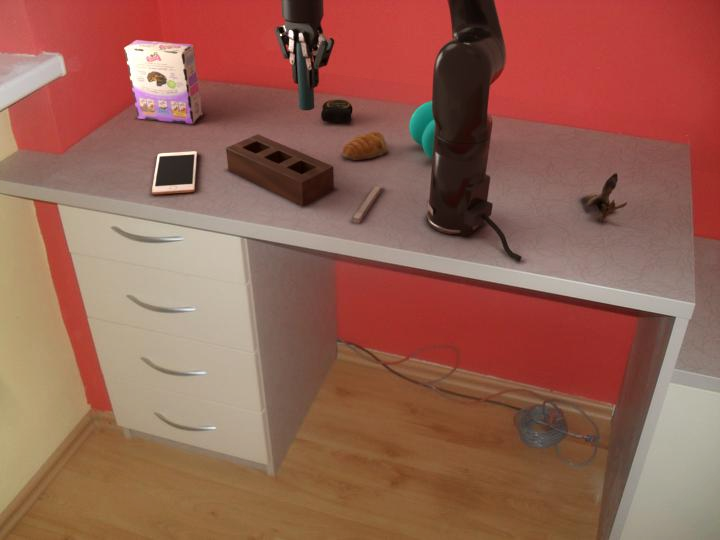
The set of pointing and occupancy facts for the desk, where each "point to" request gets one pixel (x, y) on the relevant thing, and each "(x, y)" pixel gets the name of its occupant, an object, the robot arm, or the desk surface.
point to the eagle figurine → (604, 198)
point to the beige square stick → (366, 204)
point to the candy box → (164, 81)
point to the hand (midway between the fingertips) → (305, 84)
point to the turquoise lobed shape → (423, 127)
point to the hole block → (280, 169)
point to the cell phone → (175, 173)
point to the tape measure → (336, 111)
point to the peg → (303, 81)
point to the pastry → (365, 146)
